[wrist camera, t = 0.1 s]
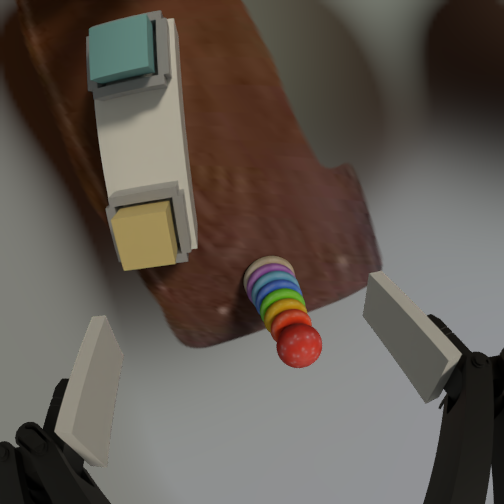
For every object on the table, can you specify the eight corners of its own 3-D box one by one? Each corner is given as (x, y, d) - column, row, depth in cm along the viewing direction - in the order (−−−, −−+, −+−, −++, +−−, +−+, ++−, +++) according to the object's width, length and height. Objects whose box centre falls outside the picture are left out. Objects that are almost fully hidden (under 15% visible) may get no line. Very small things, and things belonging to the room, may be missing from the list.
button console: (111, 50, 28) (81, 30, 18) (178, 37, 29) (171, 8, 19) (135, 233, 39) (117, 271, 30) (197, 224, 40) (197, 260, 31)
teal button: (100, 37, 19) (89, 28, 16) (152, 25, 20) (146, 13, 17) (102, 84, 22) (90, 80, 19) (154, 72, 22) (148, 66, 19)
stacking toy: (300, 281, 47) (348, 363, 31) (258, 306, 48) (288, 396, 31) (278, 244, 44) (325, 323, 27) (232, 272, 45) (254, 362, 28)
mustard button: (120, 208, 27) (110, 220, 24) (169, 200, 28) (165, 211, 25) (130, 255, 30) (124, 271, 27) (177, 248, 30) (175, 263, 27)
